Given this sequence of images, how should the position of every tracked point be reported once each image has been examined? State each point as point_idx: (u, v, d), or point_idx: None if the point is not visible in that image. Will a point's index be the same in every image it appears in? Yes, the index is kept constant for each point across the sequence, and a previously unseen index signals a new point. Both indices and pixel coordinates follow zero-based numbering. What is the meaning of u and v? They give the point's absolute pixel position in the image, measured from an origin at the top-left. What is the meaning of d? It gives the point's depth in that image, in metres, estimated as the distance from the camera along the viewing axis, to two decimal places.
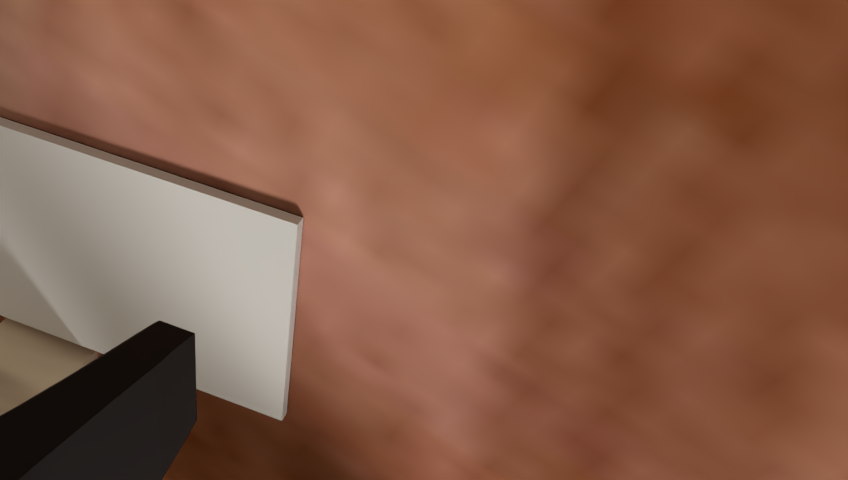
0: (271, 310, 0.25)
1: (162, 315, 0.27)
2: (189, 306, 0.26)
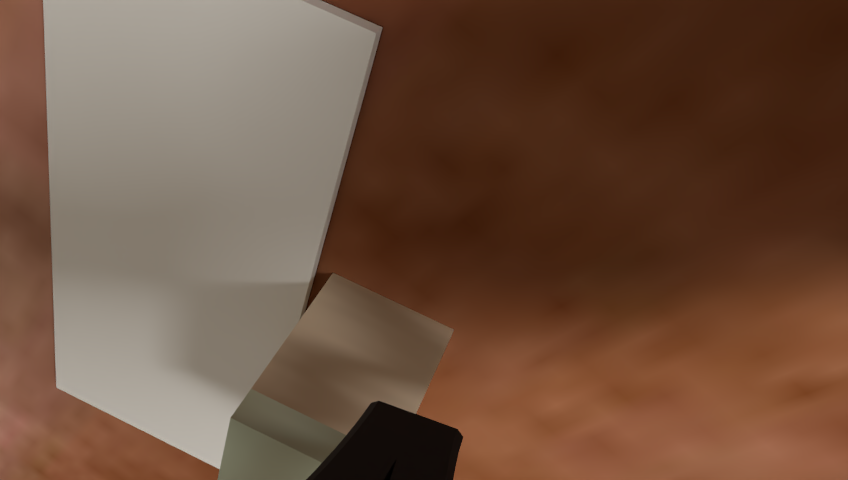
0: None
1: (229, 140, 0.21)
2: (204, 95, 0.21)
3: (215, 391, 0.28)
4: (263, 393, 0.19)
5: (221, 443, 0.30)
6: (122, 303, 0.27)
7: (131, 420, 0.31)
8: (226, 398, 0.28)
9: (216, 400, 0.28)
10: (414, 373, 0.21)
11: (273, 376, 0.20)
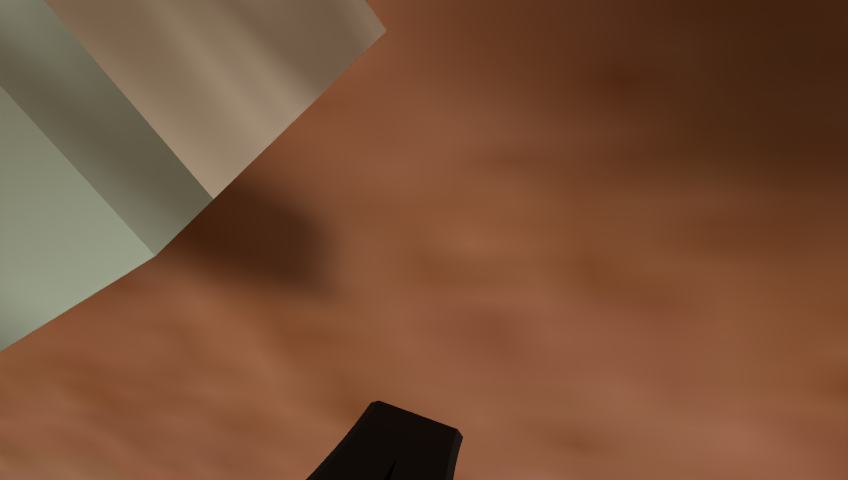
0: None
1: None
2: None
3: None
4: None
5: None
6: None
7: None
8: None
9: None
10: (302, 55, 0.10)
11: None
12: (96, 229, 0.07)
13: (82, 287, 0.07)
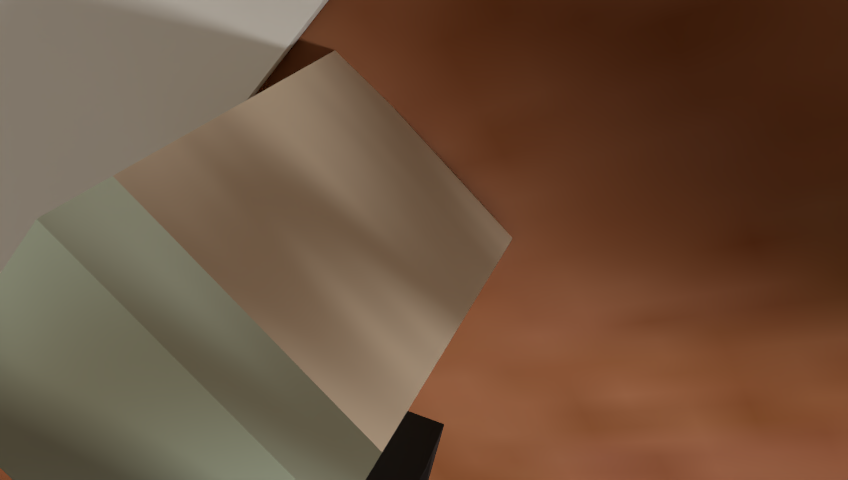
0: None
1: None
2: None
3: (16, 202, 0.15)
4: (138, 198, 0.08)
5: None
6: None
7: None
8: (33, 219, 0.16)
9: (13, 217, 0.16)
10: (442, 285, 0.10)
11: (174, 172, 0.08)
12: None
13: None
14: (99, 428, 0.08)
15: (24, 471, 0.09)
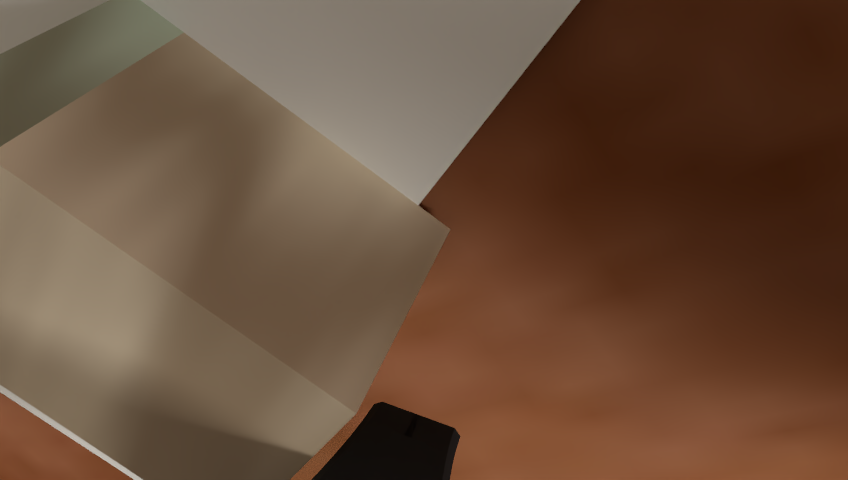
0: None
1: None
2: None
3: None
4: (173, 40, 0.11)
5: None
6: None
7: None
8: None
9: None
10: (220, 277, 0.09)
11: (210, 66, 0.11)
12: None
13: None
14: None
15: None
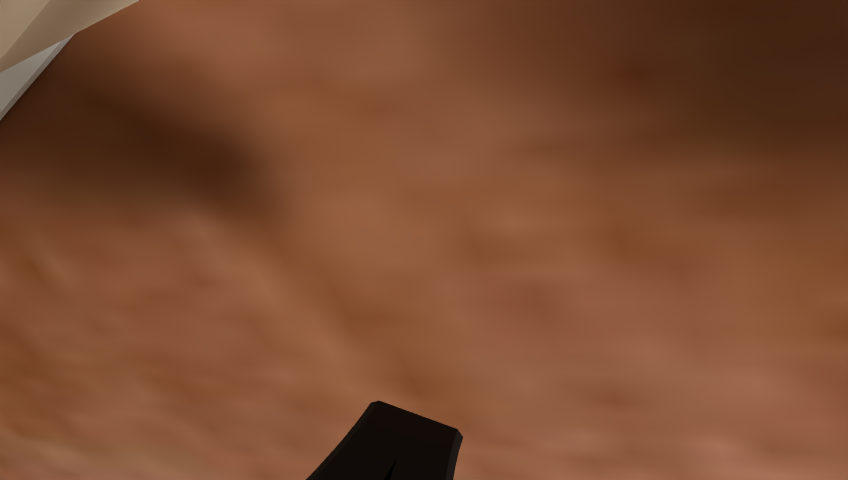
0: None
1: None
2: None
3: None
4: None
5: None
6: None
7: None
8: None
9: None
10: None
11: None
12: None
13: None
14: None
15: None
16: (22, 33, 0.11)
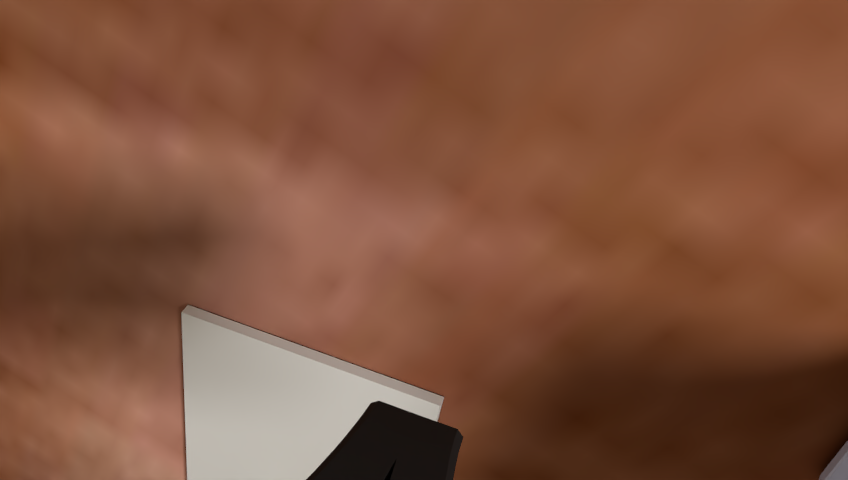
0: (285, 364, 0.25)
1: None
2: (310, 434, 0.27)
3: None
4: None
5: None
6: None
7: None
8: None
9: None
10: None
11: None
12: None
13: None
14: None
15: None
16: None
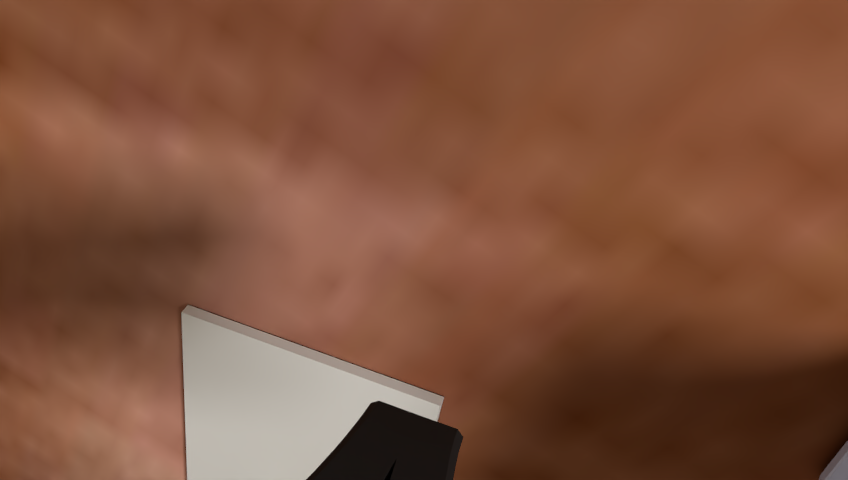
0: (285, 364, 0.25)
1: None
2: (310, 434, 0.27)
3: None
4: None
5: None
6: None
7: None
8: None
9: None
10: None
11: None
12: None
13: None
14: None
15: None
16: None
